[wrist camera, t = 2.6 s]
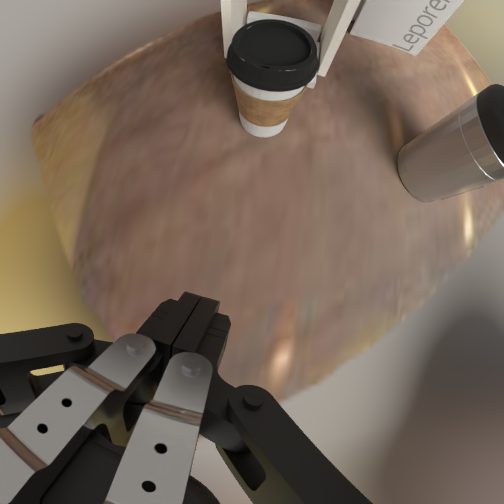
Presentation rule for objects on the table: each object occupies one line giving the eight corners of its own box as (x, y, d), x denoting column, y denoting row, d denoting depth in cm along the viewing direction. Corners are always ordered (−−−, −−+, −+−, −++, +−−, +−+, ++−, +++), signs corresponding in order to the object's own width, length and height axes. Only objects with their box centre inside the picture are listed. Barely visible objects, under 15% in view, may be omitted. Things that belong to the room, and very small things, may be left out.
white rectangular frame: (328, 37, 34) (363, -49, 14) (324, 91, 33) (375, -11, 13) (238, 20, 33) (239, -72, 13) (218, 71, 33) (207, -41, 13)
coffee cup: (221, 137, 32) (210, 62, 17) (241, 87, 33) (242, 7, 18) (286, 154, 33) (316, 87, 18) (300, 102, 33) (330, 28, 18)
